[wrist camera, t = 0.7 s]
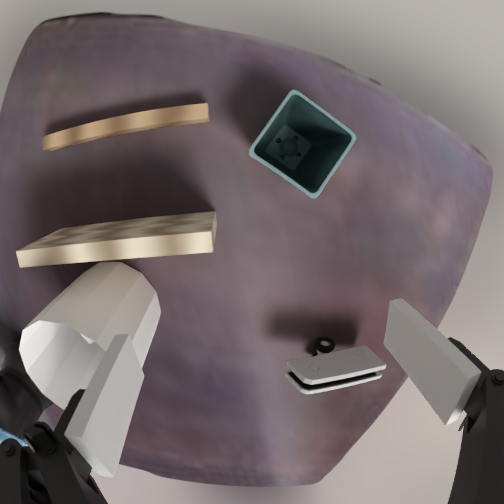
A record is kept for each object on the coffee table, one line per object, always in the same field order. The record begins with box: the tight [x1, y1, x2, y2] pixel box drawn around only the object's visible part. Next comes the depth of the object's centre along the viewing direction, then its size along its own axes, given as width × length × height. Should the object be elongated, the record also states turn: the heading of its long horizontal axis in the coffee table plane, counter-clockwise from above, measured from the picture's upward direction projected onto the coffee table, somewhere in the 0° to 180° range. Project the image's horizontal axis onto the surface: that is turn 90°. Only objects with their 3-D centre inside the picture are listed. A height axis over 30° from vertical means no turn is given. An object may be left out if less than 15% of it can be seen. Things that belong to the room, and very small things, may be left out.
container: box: [19, 262, 161, 410], centre depth 33 cm, size 14×14×18 cm
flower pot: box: [248, 90, 356, 198], centre depth 32 cm, size 9×9×9 cm
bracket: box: [284, 338, 386, 394], centre depth 41 cm, size 4×10×15 cm
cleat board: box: [16, 103, 217, 267], centre depth 30 cm, size 24×16×12 cm, turn 93°
